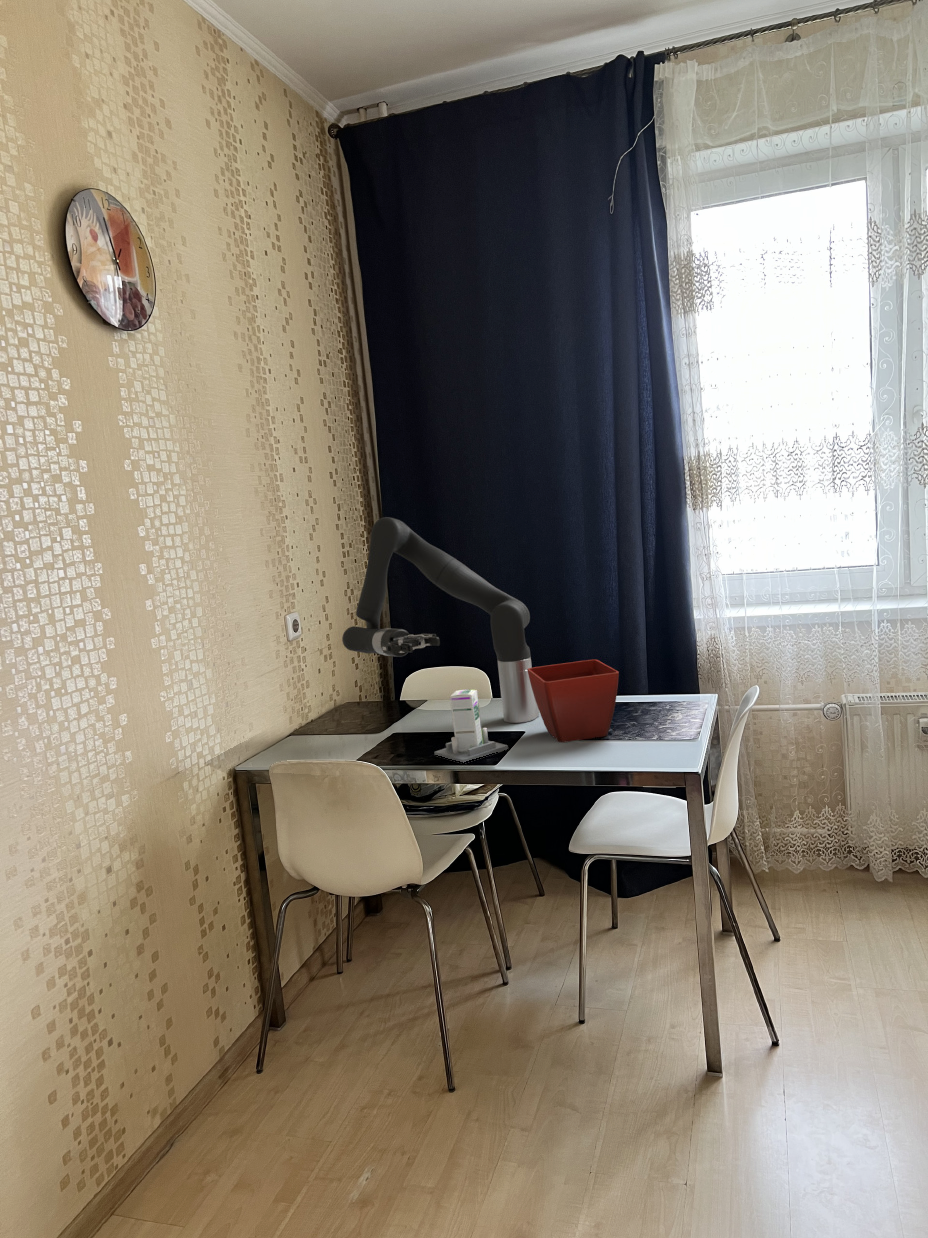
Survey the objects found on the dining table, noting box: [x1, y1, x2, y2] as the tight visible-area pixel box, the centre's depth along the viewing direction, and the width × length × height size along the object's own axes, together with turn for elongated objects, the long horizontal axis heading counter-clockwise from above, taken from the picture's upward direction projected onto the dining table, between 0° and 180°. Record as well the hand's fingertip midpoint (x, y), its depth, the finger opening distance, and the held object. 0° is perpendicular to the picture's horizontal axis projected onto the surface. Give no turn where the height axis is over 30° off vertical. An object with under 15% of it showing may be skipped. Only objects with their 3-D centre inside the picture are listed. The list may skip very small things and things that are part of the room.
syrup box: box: [449, 688, 484, 752], centre depth 225 cm, size 6×6×14 cm
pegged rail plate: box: [434, 727, 509, 763], centre depth 226 cm, size 14×12×5 cm
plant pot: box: [527, 659, 620, 743], centre depth 231 cm, size 19×19×17 cm
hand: (425, 644), depth 234 cm, fingers open, 8 cm apart
